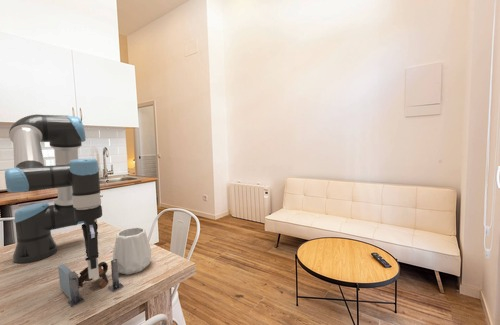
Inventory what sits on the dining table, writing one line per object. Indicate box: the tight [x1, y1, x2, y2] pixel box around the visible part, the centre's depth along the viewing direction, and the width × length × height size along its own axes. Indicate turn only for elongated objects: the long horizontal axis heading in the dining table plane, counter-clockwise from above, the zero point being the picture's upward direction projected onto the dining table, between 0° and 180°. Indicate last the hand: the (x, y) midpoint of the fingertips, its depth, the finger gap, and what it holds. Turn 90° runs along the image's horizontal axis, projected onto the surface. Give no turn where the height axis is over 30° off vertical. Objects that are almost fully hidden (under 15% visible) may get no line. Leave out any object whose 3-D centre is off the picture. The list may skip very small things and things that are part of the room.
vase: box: [112, 227, 152, 276], centre depth 97 cm, size 14×14×15 cm
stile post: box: [108, 258, 125, 293], centre depth 84 cm, size 4×4×10 cm
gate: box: [57, 263, 79, 300], centre depth 81 cm, size 14×2×9 cm, turn 53°
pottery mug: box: [78, 261, 109, 289], centre depth 87 cm, size 12×10×8 cm
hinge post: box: [67, 276, 85, 308], centre depth 77 cm, size 4×4×8 cm
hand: (93, 276), depth 79 cm, fingers closed
